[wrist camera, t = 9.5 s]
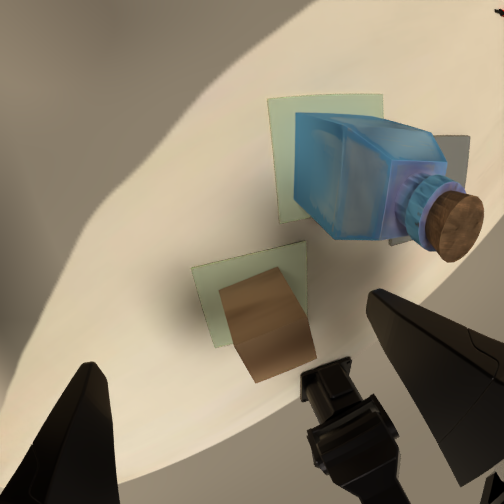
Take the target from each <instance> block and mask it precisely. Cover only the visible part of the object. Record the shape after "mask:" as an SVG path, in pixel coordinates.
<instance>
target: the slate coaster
mask: <svg viewBox="0 0 504 504" xmlns="http://www.w3.org/2000/svg"><path fill="white" fill-rule="evenodd" d="M434 138H435V140H436V142H437V144H438V145H439V147H440V149H441V151H442V153H443V155H444V156H445V158H446V160H447V162H448V163H447V169H446V175H445V176H446V177H448V178H450V179H452V180H454V181H456V182H458V183H460V184H461V185H462V187H463V188H464V189H465V183H466V175H467V167H468V158H469V147H470V136H468V135H436V136H434ZM411 240H413V239H411V238H410V236H404V237H398V238H392V239H389V245H390V246H394V245H397V244H400V243H404V242H407V241H411Z"/></svg>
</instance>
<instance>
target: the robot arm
mask: <svg viewBox="0 0 504 504" xmlns="http://www.w3.org/2000/svg"><path fill="white" fill-rule="evenodd" d="M366 314H367V317H368V319H369V321H370V323H371V325H372V327H373V329H374V331H375V333H376V335H377V338H378V340H379V342H380V344H381V346H382V348H383V350H384V352H385V354H386V355H387V357H388V359H389V360H390V362H391V363H392V365H393V366H394V368H395V370H396V372H397V373H398V375H399V376H400V378H401V380H402V382H403V383H404V385H405V387H406V388H407V390H408V392H409V393H410V395H411V397H412V399H413V400H414V402H415V404H416V406H417V407H418V409H419V411H420V412H421V414H422V416H423V418H424V419H425V421H426V423H427V425H428V426H429V428H430V430H431V432H432V434H433V436H434V437H435V439H436V441H437V443H439V444H438V445H439V447H440V449H441V451H442V453H443V454H444V457H445V458H446V460H447V462H448V464H449V466H450V468H451V470H452V472H453V474H454V476H455V478H456V480H457V482H458V484H459V485H460V487H462V486H464V485H466V484H467V483H469V482H471V481H472V480H474V479H475V478H477V477H479V476H480V475H482V474H483V473H484V472H486V471H488V470H489V469H491V468H492V467H493V468H494V469H495V471H494V472H493V473H492V474H490V475H489V476H488V477H487V478H486V481H485V486H484V490H483V494H482V498H481V502H480V504H504V343H503V342H500V341H497V340H495V339H492V338H489V337H487V336H485V335H483V334H480V333H478V332H476V331H474V330H472V329H469V328H468V329H467V327H465V326H463V325H461V324H459V323H456V322H454V321H452V320H450V319H448V318H445V317H443V316H441V315H439V314H437V313H435V312H432V311H430V310H428V309H426V308H423V307H421V306H419V305H417V304H415V303H413V302H410V301H408V300H406V299H404V298H401V297H399V296H397V295H395V294H392V293H390V292H388V291H386V290H384V289H380V288H379V289H376V290H373V291H370V292H369V294H368V300H367V306H366ZM351 363H352V360H351V358H350V357H348V358H345V359H342V360H339V361H337V362H334V363H331V364H328V365H326V366H323V367H320V368H317V369H314V370H311V371H308V372H305V373H303V374H302V375H301V376H300V399H301V401H302V402H306V401H309V402H310V404H311V406H312V408H313V410H314V413H315V415H316V417H317V419H318V421H319V423H320V425H318V426H316V427H314V428H313V429H309V430H307V433H308V436H307V439H308V441H309V443H310V446H311V450H312V456H313V461H314V465H315V467H317V468H320V469H321V470H322V471H323V472H324V473H325V474H326V475H330V477H331V479H332V481H333V483H335V484H336V485H338V486H340V487H341V488H343V489H345V490H347V491H348V492H350V493H352V494H354V495H356V496H357V497H359V499H360V501H361V503H362V504H411V503H410V501H409V499H408V497H407V495H406V493H405V492H404V490H403V488H402V486H401V484H400V482H399V480H398V477H399V468H400V459H401V454H400V451H399V447H398V445H397V443H396V442H395V439H397V438H398V437H399V434H398V432H397V430H396V428H395V426H394V424H393V423H392V421H391V419H390V418H389V416H388V415H387V413H386V412H385V410H384V409H383V407H382V405H381V404H380V402H379V401H378V399H377V398H376V396H375V395H374V394H372V395H370V397H368V398H367V399H365V400H363V399H362V397H361V395H360V394H359V392H358V390H357V389H356V387H355V385H354V383H353V382H352V380H351V378H350V377H349V373H350V368H351ZM0 504H120V500H119V493H118V484H117V475H116V464H115V452H114V436H113V422H112V414H111V407H110V399H109V391H108V382H107V379H106V377H105V375H104V374H103V372H102V371H101V370H100V368H99V367H98V366H97V364H96V363H95V362H85V363H83V364H81V366H80V367H79V369H78V370H77V372H76V373H75V375H74V376H73V378H72V379H71V381H70V382H69V384H68V386H67V387H66V389H65V390H64V392H63V393H62V395H61V396H60V398H59V400H58V401H57V403H56V404H55V406H54V408H53V409H52V411H51V413H50V414H49V416H48V417H47V419H46V421H45V422H44V424H43V426H42V427H41V429H40V431H39V433H38V434H37V436H36V438H35V439H34V441H33V445H31V446H30V448H29V450H28V452H27V453H26V455H25V457H24V459H23V460H22V462H21V464H20V465H19V467H18V468H17V470H16V471H15V473H14V475H13V476H12V478H11V479H10V481H9V482H8V484H7V485H6V487H5V488H4V490H3V491H2V493H1V495H0Z"/></svg>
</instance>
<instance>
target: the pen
mask: <svg viewBox="0 0 504 504" xmlns="http://www.w3.org/2000/svg"><path fill="white" fill-rule="evenodd" d="M495 12H497V13H500V15H501V16H504V10H502V9H499V10H496V9H495Z"/></svg>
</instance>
